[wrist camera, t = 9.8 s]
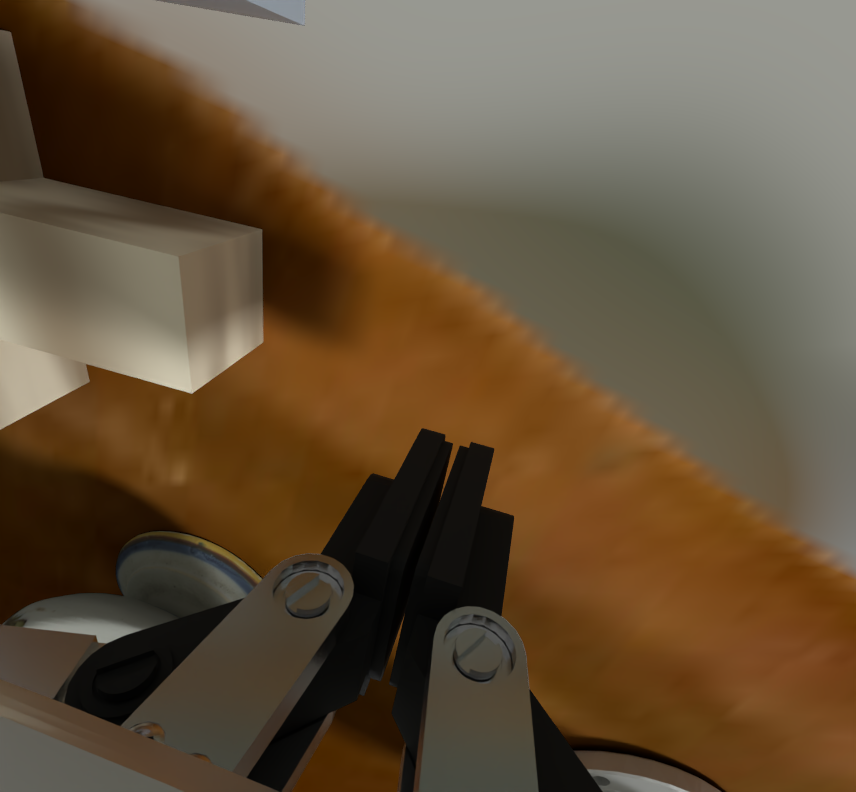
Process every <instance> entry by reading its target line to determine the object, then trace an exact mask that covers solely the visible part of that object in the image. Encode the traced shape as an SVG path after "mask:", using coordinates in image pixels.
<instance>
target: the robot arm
mask: <svg viewBox="0 0 856 792" xmlns="http://www.w3.org/2000/svg"><path fill="white" fill-rule="evenodd" d="M452 446H453V443H450V442H446V441H445V434H441V433H438V432H434V431H431V430H427V429H424V428H422V429H421V431H420V433H419V434H418V436H417V438H416V440H415V442H414V444H413V446H412V448H411V449H410V451H409V453H408V455H407V457H406V459H405V461H404V462H403V464H402V466H401V468H400V470H399V472H398V474H397V476H396V477H395V479H394V480H393V479H390V478H387V477H383V476H380V475H377V474H371V475H370V476H369V478H368V479H367V481H366V482H365V484H364V485H363V487H362V489H361V490H360V492H359V493H358V495H357V497H356V498H355V500H354V501H353V503H352V505H351V506H350V508H349V509H348V511H347V513H346V514H345V516H344V518H343V519H342V521H341V522H340V524H339V526H338V527H337V529H336V530H335V532H334V534H333V535H332V537H331V538H330V540H329V542H328V543H327V545H326V546H325V548H324V550H323V551H322V553H321V554H302V555H297V556H293V557H291V558H289V559H286V560H284V561H282V562H281V563H280V564H278V565H277V566H276V567H274V568H273V569H272V570H271V571H270V572H269V573H268V574H267V575H266V576H265V577H264V578H263V579H262V580H261V581H260V582H259V583H258V584H257V585H256V586H255V588H254V589H253V590H252V591H251V592H250V593H249V594H248V595H247V596H246V597H245V598H242V599H239V600H236V601H232V602H229V603H226V604H223V605H220V606H217V607H213V608H210V609H207V610H204V611H201V612H197V613H194V614H191V615H188V616H185V617H182V618H178V619H175V620H172V621H169V622H166V623H163V624H159V625H156V626H153V627H150V628H147V629H143V630H140V631H137V632H134V633H131V634H128V635H125V636H122V637H120V638H118V639H115V640H113V641H111V642H108V643H99V642H98V641H97V637H96V635H88V634H79V633H70V632H61V631H52V630H43V629H34V628H25V627H16V626H7V625H0V792H291V791H292V789H293V788H294V786H295V784H296V783H297V781H298V779H299V777H300V776H301V774H302V772H303V771H304V769H305V767H306V765H307V764H308V762H309V760H310V759H311V757H312V755H313V753H314V752H315V750H316V748H317V746H318V745H319V743H320V741H321V740H322V738H323V736H324V734H325V733H326V731H327V729H328V728H329V726H330V724H331V722H332V720H333V718H334V715H335V713H336V710H337V709H339V708H341V707H343V706H346V705H348V704H350V703H352V702H354V701H356V700H357V698H358V696H359V694H360V695H363V696H364V695H365V692H366V689H367V686H368V684H369V681H370V678H373V679H375V680H378V681H381V679H382V677H383V674H384V671H385V668H386V665H387V662H388V660H389V657H390V654H391V651H392V648H393V645H394V642H395V640H396V637H397V634H398V631H399V628H400V625H401V622H402V620H403V617H404V620H403V624H402V629H401V633H400V638H399V642H398V647H397V651H396V656H395V660H394V665H393V669H392V673H391V678H390V682H389V685H392V686H394V687H397V692H396V697H395V701H394V705H393V709H392V715H393V717H394V720H395V722H396V724H397V726H398V728H399V730H400V732H401V734H402V737H403V739H404V741H405V743H404V747H403V751H402V759H401V767H400V774H399V782H398V790H397V792H721V791H720V790H718V789H717V788H715V787H713V786H712V785H710V784H709V783H707V782H705V781H704V780H702V779H700V778H698V777H696V776H694V775H692V774H690V773H687V772H685V771H683V770H681V769H678V768H676V767H673V766H670V765H667V764H664V763H661V762H658V761H655V760H651V759H647V758H642V757H638V756H633V755H629V754H622V753H614V752H607V751H585V750H577V751H573V749H572V748H571V747H570V745H569V744H568V742H567V741H566V740H565V738H564V737H563V735H562V734H561V733H560V731H559V730H558V728H557V727H556V726H555V724H554V723H553V721H552V720H551V719H550V717H549V716H548V714H547V713H546V712H545V710H544V709H543V707H542V706H541V705H540V703H539V702H538V700H537V699H536V697H535V696H534V695H533V693H532V692H531V690H530V689H529V681H528V670H527V659H526V653H525V649H524V645H523V642H522V640H521V639H520V637H519V635H518V633H517V632H516V630H515V629H514V628H513V627H512V626H511V625H510V624H509V623H508V622H507V621H506V619H504V618H502V617H501V614H502V607H503V599H504V592H505V584H506V576H507V569H508V561H509V554H510V546H511V538H512V531H513V523H514V516H512V515H509V514H506V513H502V512H499V511H496V510H493V509H489V508H486V507H483V506H481V504H482V500H483V496H484V491H485V487H486V483H487V479H488V474H489V470H490V466H491V462H492V457H493V453H494V448H491V447H487V446H484V445H480V444H477V443H473V442H471V443H470V446H469V448H467V447H464V446H460V447H459V450H458V452H457V455H456V458H455V461H454V463H453V466H452V469H451V472H450V474H449V477H448V480H447V483H446V485H445V488H444V491H443V494H442V496H441V493H442V489H443V484H444V480H445V476H446V472H447V467H448V463H449V459H450V455H451V450H452ZM440 497H441V499H440ZM439 501H440V502H439ZM404 614H405V615H404Z"/></svg>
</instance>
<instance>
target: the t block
mask: <svg viewBox="0 0 856 792" xmlns="http://www.w3.org/2000/svg"><path fill="white" fill-rule="evenodd" d="M262 343H263V266H262V229H259V228H255V227H250V226H246V225H242V224H238V223H233V222H229V221H225V220H221V219H216V218H212V217H208V216H204V215H199V214H195V213H191V212H187V211H182V210H178V209H174V208H170V207H165V206H161V205H157V204H153V203H148V202H144V201H140V200H136V199H131V198H127V197H123V196H119V195H114V194H110V193H106V192H102V191H97V190H93V189H89V188H85V187H80V186H76V185H72V184H68V183H63V182H59V181H55V180H51V179H46V178H44V177H43V172H42V168H41V163H40V159H39V155H38V150H37V146H36V141H35V137H34V132H33V128H32V123H31V119H30V115H29V110H28V106H27V101H26V97H25V92H24V88H23V83H22V79H21V75H20V70H19V66H18V61H17V57H16V52H15V48H14V44H13V39H12V35H11V32H9V31H4V30H0V429H2V428H4V427H6V426H8V425H10V424H11V423H13V422H15V421H17V420H19V419H21V418H23V417H24V416H26V415H28V414H30V413H32V412H34V411H36V410H38V409H39V408H41V407H43V406H45V405H47V404H49V403H51V402H53V401H54V400H56V399H58V398H60V397H62V396H64V395H66V394H67V393H69V392H71V391H73V390H75V389H77V388H79V387H81V386H82V385H84V384H86V383H88V382H90V381H89V377H88V372H87V368H86V364H89V365H93V366H96V367H100V368H103V369H107V370H110V371H114V372H117V373H121V374H125V375H128V376H132V377H135V378H139V379H142V380H146V381H149V382H153V383H157V384H160V385H164V386H167V387H171V388H174V389H178V390H181V391H185V392H189V393H193V392H195V391H196V390H198V389H199V388H200V387H202V386H203V385H205V384H206V383H207V382H209V381H210V380H212V379H213V378H214V377H216V376H217V375H218V374H220V373H221V372H223V371H224V370H225V369H227V368H228V367H230V366H231V365H232V364H234V363H235V362H237V361H238V360H239V359H241V358H242V357H243V356H245V355H246V354H248V353H249V352H250V351H252V350H253V349H255V348H256V347H257V346H259V345H260V344H262Z"/></svg>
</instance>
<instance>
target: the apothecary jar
mask: <svg viewBox="0 0 856 792" xmlns="http://www.w3.org/2000/svg"><path fill="white" fill-rule="evenodd" d="M116 578H117V582H118V586H119V588H120V590H121V592H122V594H123V596H120V595H114V594H105V593H80V594H72V595H66V596H60V597H54V598H49V599H45V600H41V601H38V602H35V603H33V604H30V605H28V606H26V607H24V608H23V609H21V610H19V611H18V612H16V613H15V614H14V615H12V616H11V617H10V618H9V619H8V620H6V621H5V622H4V623H3V624H2V625H7V626H16V627H25V628H34V629H43V630H52V631H61V632H70V633H79V634H88V635H96V637H97V641H98V642H99V643H108V642H111V641H113V640H115V639H118V638H120V637H122V636H125V635H128V634H131V633H134V632H137V631H140V630H143V629H147V628H150V627H153V626H156V625H159V624H163V623H166V622H169V621H172V620H175V619H178V618H182V617H185V616H188V615H191V614H194V613H197V612H201V611H204V610H207V609H210V608H213V607H217V606H220V605H223V604H226V603H229V602H232V601H236V600H239V599H242V598H245V597H246V596H247V595H248V594H249V593H250V592H251V591H252V590H253V589H254V588H255V586H256V585H257V584H258V583H259V582H260V581H261V580H262V578H261V577H260V576H259V575H258V574H257V573H256V572H255V571H254V570H253V569H251V568H250V567H249V566H248V565H247V564H246V563H244V562H243V561H242V560H241V559H239V558H238V557H236V556H235V555H233V554H232V553H230V552H229V551H227V550H225V549H223V548H221V547H219V546H218V545H216V544H213V543H211V542H209V541H207V540H204V539H201V538H199V537H195V536H192V535H188V534H183V533H178V532H170V531H154V532H148V533H144V534H140V535H138V536H136V537H134V538H133V539H131V540H130V541H129V542H127V543H126V544H125V545H124V546H123V548H122V549H121V551H120V553H119V555H118V559H117V563H116Z"/></svg>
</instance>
